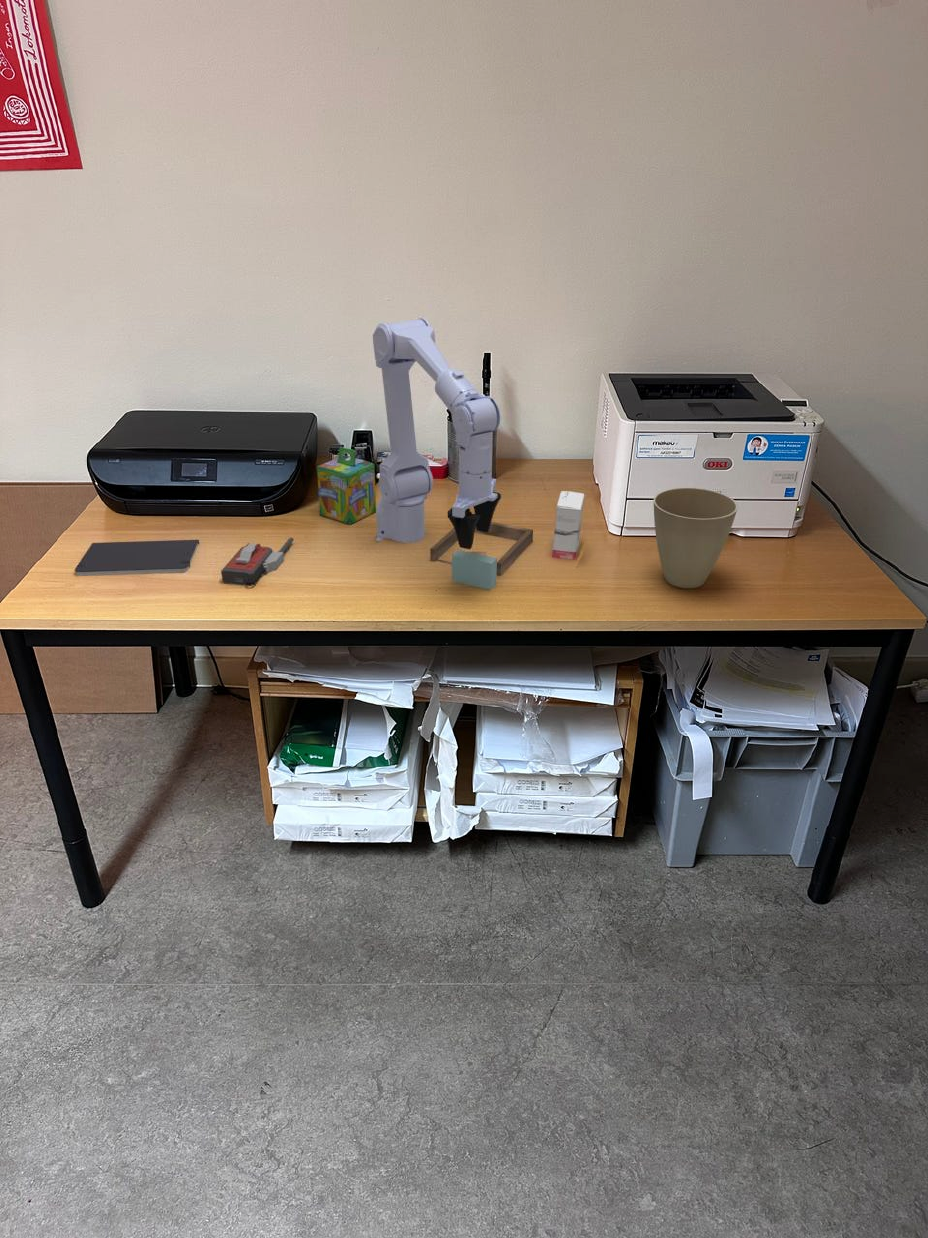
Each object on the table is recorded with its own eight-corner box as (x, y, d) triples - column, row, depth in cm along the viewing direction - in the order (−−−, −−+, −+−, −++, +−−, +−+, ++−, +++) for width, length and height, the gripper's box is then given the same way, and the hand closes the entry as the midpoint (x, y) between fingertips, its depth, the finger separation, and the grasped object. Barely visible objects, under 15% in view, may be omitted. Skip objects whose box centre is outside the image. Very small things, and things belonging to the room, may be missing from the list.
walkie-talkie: (262, 591, 160) (297, 545, 177) (259, 570, 158) (295, 525, 175) (218, 587, 162) (257, 542, 179) (214, 566, 159) (254, 522, 176)
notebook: (200, 546, 177) (93, 549, 176) (198, 539, 176) (92, 542, 175) (188, 574, 166) (74, 578, 165) (186, 567, 165) (73, 571, 164)
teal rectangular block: (452, 583, 162) (452, 555, 159) (457, 578, 164) (457, 549, 160) (491, 592, 159) (491, 563, 156) (496, 586, 161) (497, 558, 158)
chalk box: (319, 515, 189) (313, 451, 182) (346, 502, 196) (342, 439, 188) (350, 526, 185) (346, 460, 177) (378, 511, 191) (374, 448, 184)
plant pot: (702, 558, 172) (714, 484, 164) (737, 594, 160) (753, 515, 151) (632, 565, 169) (641, 489, 161) (662, 602, 157) (674, 522, 149)
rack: (430, 564, 169) (430, 548, 167) (466, 532, 182) (466, 516, 181) (500, 580, 164) (501, 563, 162) (532, 545, 177) (533, 529, 175)
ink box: (576, 564, 170) (581, 508, 164) (551, 561, 171) (554, 506, 165) (580, 545, 177) (584, 491, 171) (556, 543, 178) (559, 489, 172)
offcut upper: (453, 565, 167) (453, 558, 166) (453, 559, 169) (453, 551, 168) (486, 565, 167) (486, 557, 166) (486, 558, 169) (486, 551, 168)
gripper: (479, 486, 142) (478, 559, 149) (512, 458, 154) (509, 527, 161) (441, 479, 145) (441, 551, 152) (476, 452, 156) (475, 521, 163)
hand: (474, 539), depth 156 cm, fingers open, 7 cm apart
